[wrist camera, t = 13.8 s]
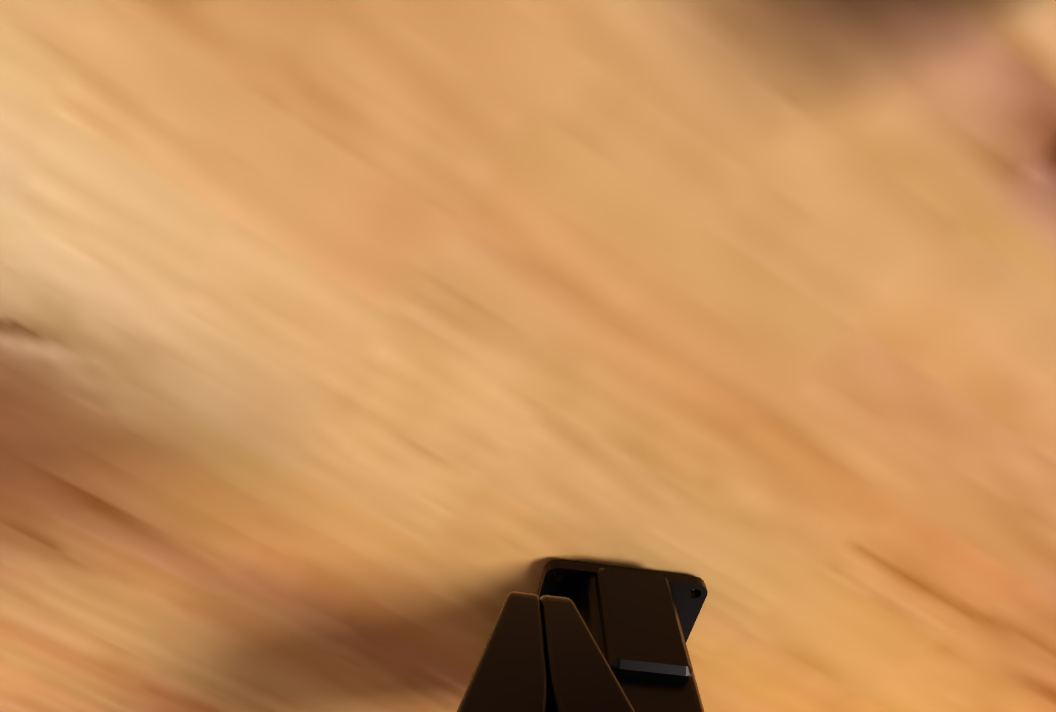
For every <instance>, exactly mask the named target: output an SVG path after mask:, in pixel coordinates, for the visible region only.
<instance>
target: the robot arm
mask: <svg viewBox="0 0 1056 712" xmlns="http://www.w3.org/2000/svg"><path fill="white" fill-rule="evenodd" d="M558 572H559V573H560V574H554V573H558ZM693 589H695V590H693ZM706 596H707V589H706V586H705V583H704V581H703V580H702V579H701V578H698V577H693V576H685V575H677V574H669V573H661V572H653V571H645V570H637V569H629V568H620V567H612V566H604V565H596V564H588V563H580V562H572V561H564V560H553V561H550V562H549V563H547V564H546V566H545V568H544V571H543V575H542V579H541V582H540V586H539V590H538V594H537V595H536V594H533V593H524V592H516V591H512V592H510V593H509V594H508V595H507V597H506V599H505V602H504V604H503V606H502V609H501V611H500V613H499V615H498V618H497V620H496V622H495V625H494V627H493V629H492V632H491V634H490V636H489V639H488V641H487V643H486V645H485V648H484V650H483V652H482V655H481V657H480V659H479V662H478V664H477V666H476V669H475V671H474V673H473V675H472V678H471V680H470V682H469V685H468V687H467V689H466V692H465V694H464V696H463V699H462V701H461V703H460V705H459V708H458V710H457V712H704V709H703V705H702V702H701V698H700V694H699V691H698V687H697V683H696V680H695V676H694V673H693V669H692V665H691V661H690V658H689V654H688V650H687V647H686V641H687V639H688V637H689V635H690V632H691V630H692V628H693V626H694V623H695V621H696V619H697V617H698V614H699V612H700V610H701V608H702V605H703V603H704V601H705V599H706Z"/></svg>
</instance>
